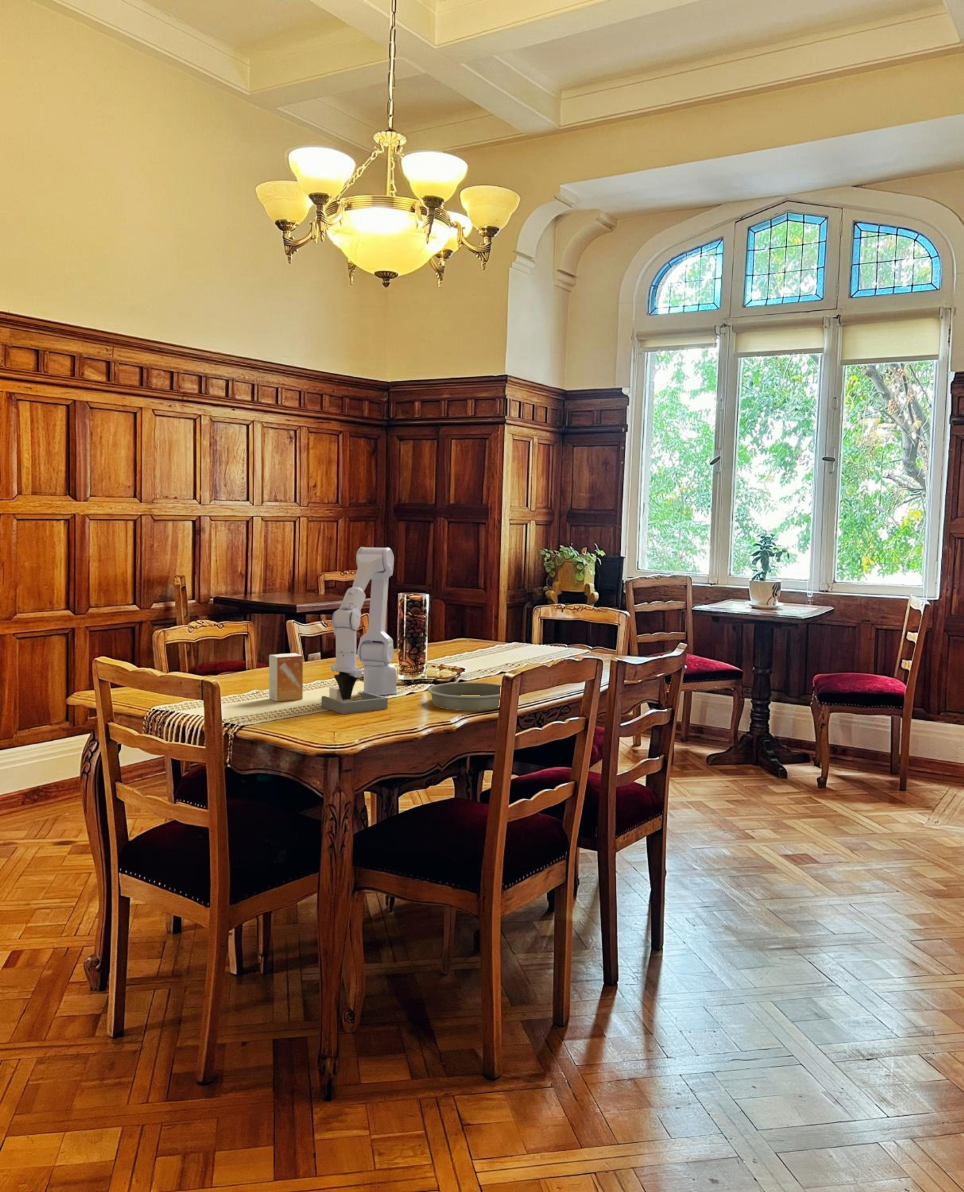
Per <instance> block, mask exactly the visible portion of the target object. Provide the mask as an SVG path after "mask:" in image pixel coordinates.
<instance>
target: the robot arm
mask: <svg viewBox="0 0 964 1192" xmlns="http://www.w3.org/2000/svg"><path fill="white" fill-rule="evenodd" d="M394 556H395V555H394V553H393V550H392V549H391V548H390V547H364V546H360V548H358V550H357V551H356V558H355V559H356V560H355V561H356V567H357V570H356V573H355V576H354V580H353V583H352V587H349V588H347V590H346V592H345V594H344V597H343V599H342V602H341V605H340V607H339V608H338V609H336V610H335V611H334V612H333V613H332V617H331V618H332V619H331V625H332V627H333V635H334V636H335V663H333V664H332V663H331V664H330V672H337V673H338V674H334V675H333V676H334V679H335V681H336V683H337V685H338V686H339V689H340V693H341V697H342V700H349V699H351V700H352V693H353V690H354V687H355V685H356V682H357V680H358V679H359V678H362V677H363V690H358V691H357V692H358V693H359V694H361V695H362V692H369V693H372V694H376V695H379V696H386V695H394V694H396V695H397V694H398V693H399V692H398V691H397V670H396V667H395V665H394V664H393V663H391V662H392V661H393V659H394V656H395V649H394V640H393V638H392V637H391V636H390V635H389V634H388V633H387V632H386V617H387V604H388V593H389V592H388V591H389V590H388V589H389V578H391V576H393V573H394V564H395V563H394V562H395V557H394ZM370 580H371V584H370V585H371V586H370V587H371V588H370V602H369V613H368V616H369V617H368V629H367V632H366V633H364V634H363V635H362V636H361V637H360V639H359V643H358V647H357V630H358V629H359V627H360V624H361V617H362V613H361V610H362V608H363V606H364V602H365V601H366V597H367V596H366V593H365V590H366V588H367V587H368V584H369V582H370ZM357 660H359V662H360V663H361V665H363V670H362V669H360V668H359V667H358V666H357Z"/></svg>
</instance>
